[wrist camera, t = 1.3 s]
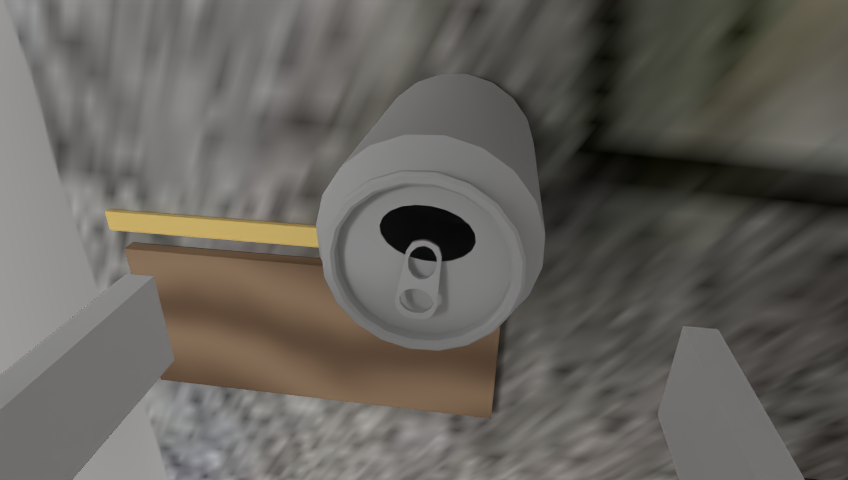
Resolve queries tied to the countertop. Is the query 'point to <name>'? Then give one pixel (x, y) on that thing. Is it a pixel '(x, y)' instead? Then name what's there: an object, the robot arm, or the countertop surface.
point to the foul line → (213, 227)
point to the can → (436, 217)
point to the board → (298, 335)
